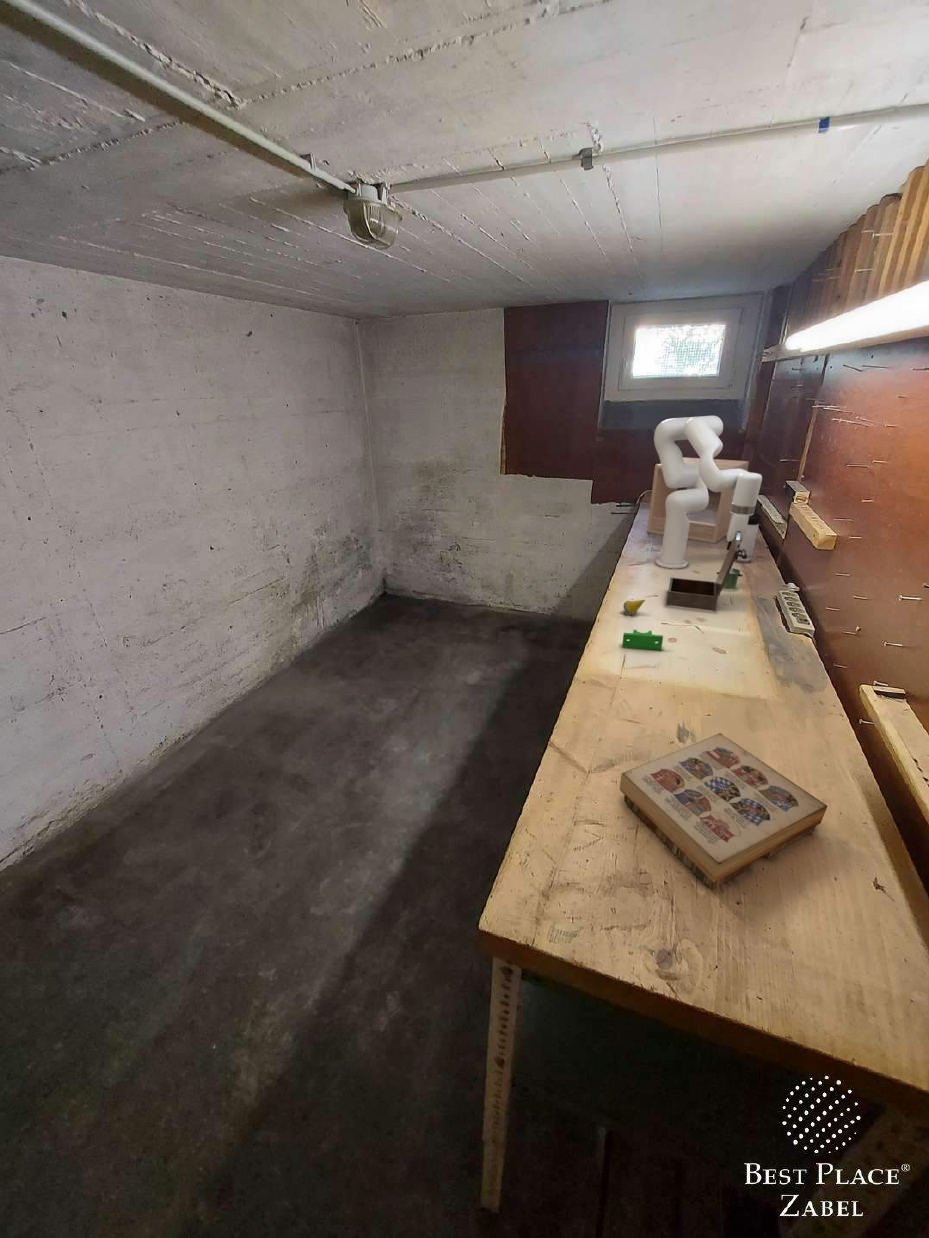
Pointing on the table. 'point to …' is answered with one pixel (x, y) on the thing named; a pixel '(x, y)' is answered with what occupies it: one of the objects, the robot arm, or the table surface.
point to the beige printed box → (719, 807)
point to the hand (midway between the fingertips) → (731, 554)
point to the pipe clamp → (642, 640)
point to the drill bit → (632, 607)
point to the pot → (732, 578)
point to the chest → (692, 594)
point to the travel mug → (749, 538)
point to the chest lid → (728, 565)
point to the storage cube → (696, 529)
